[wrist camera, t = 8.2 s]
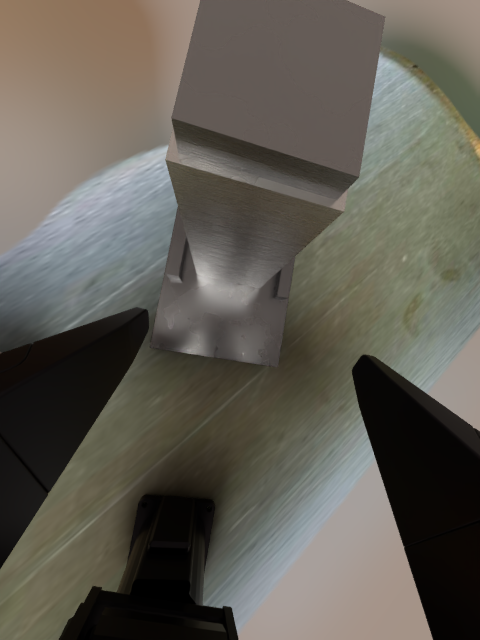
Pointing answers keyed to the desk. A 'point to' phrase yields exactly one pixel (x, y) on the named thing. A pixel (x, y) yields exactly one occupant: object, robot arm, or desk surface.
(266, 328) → the grey base plate
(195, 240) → the block
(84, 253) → the desk surface
